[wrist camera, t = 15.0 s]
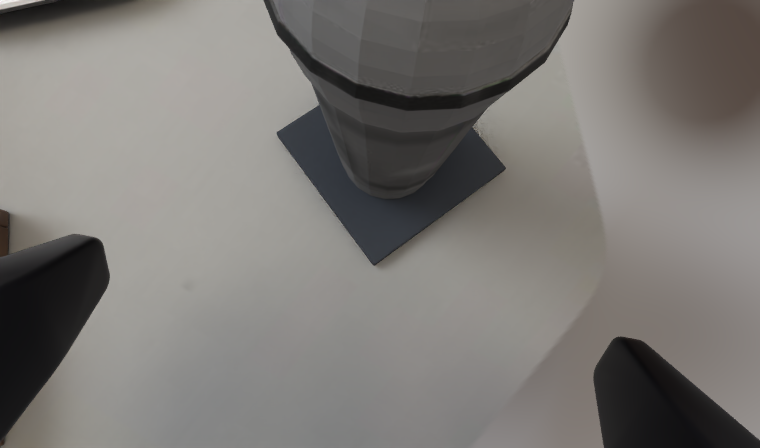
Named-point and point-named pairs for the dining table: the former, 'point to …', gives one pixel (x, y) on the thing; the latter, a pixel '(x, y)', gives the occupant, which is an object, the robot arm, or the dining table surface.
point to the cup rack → (3, 244)
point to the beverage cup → (412, 74)
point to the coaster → (386, 216)
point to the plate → (20, 4)
